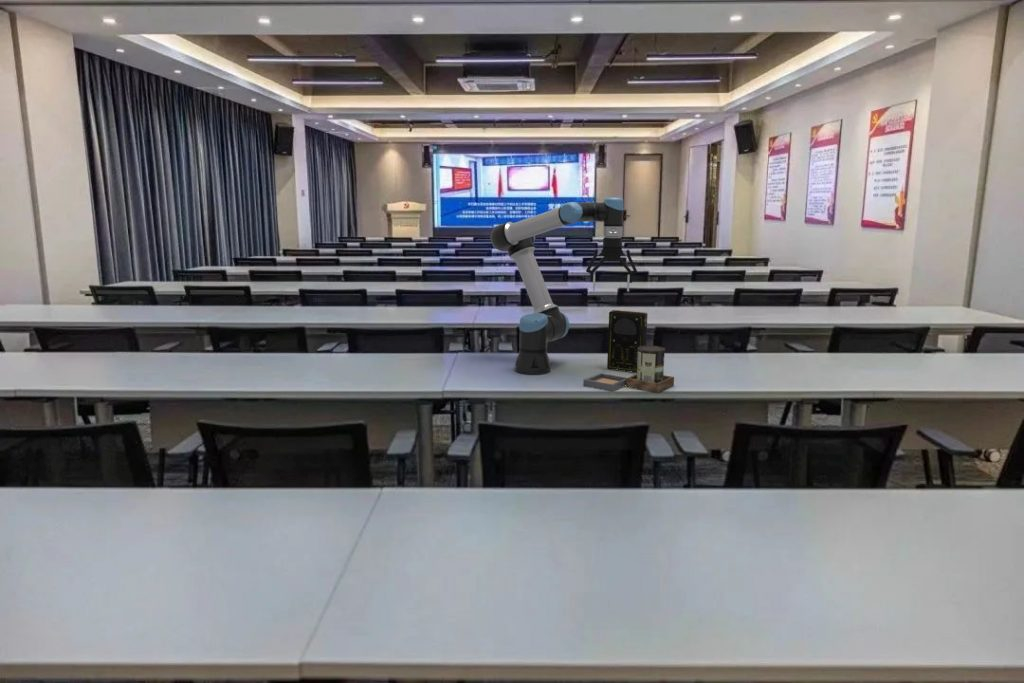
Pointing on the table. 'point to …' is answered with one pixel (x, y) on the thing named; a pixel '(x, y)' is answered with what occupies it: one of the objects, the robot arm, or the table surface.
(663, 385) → the walnut tray
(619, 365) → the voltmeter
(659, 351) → the coffee can
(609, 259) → the robot arm
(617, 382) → the checker cradle
